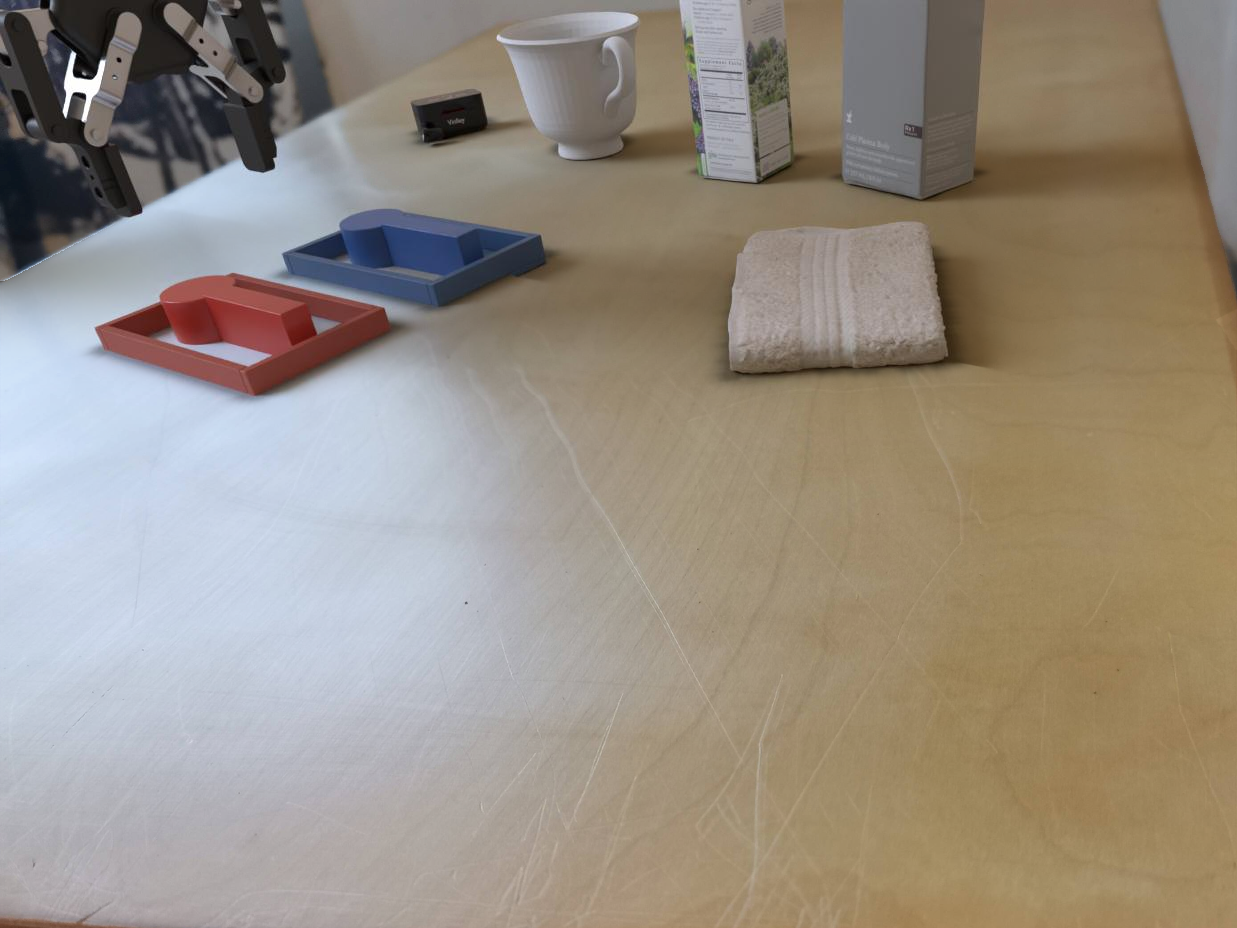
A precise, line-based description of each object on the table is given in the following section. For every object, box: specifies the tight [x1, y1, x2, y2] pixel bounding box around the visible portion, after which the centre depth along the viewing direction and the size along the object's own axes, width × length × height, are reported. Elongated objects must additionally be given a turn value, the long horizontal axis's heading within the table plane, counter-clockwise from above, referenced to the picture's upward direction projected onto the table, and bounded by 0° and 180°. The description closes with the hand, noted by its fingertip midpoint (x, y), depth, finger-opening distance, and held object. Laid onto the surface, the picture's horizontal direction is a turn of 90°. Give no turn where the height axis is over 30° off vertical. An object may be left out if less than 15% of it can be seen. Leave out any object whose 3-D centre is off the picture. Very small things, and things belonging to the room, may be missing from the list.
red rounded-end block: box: [158, 274, 318, 356], centre depth 68 cm, size 12×4×3 cm, turn 57°
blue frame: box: [281, 211, 547, 308], centre depth 77 cm, size 15×10×2 cm, turn 57°
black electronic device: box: [410, 88, 489, 144], centre depth 107 cm, size 5×7×3 cm, turn 123°
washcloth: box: [727, 220, 949, 375], centre depth 66 cm, size 12×18×3 cm, turn 0°
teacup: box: [496, 11, 642, 161], centre depth 96 cm, size 12×15×10 cm
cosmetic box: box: [841, 0, 986, 200], centre depth 81 cm, size 8×7×16 cm
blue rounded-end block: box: [338, 208, 484, 277], centre depth 77 cm, size 12×4×3 cm, turn 57°
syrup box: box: [678, 0, 795, 184], centre depth 87 cm, size 6×6×14 cm
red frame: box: [94, 272, 392, 397], centre depth 69 cm, size 15×10×2 cm, turn 57°
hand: (197, 191), depth 65 cm, fingers open, 8 cm apart
